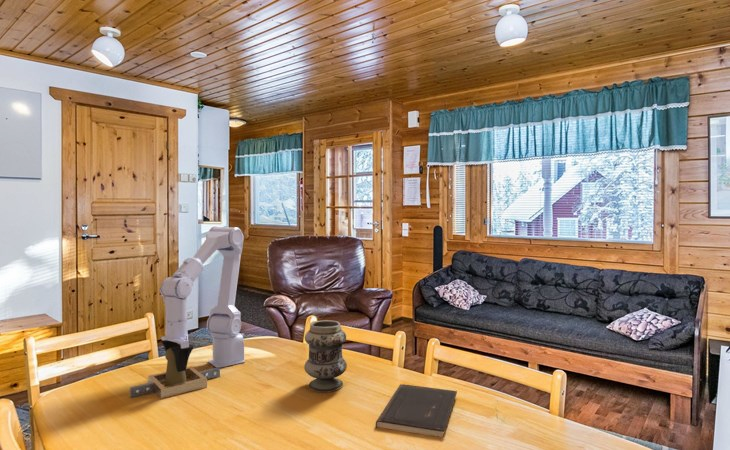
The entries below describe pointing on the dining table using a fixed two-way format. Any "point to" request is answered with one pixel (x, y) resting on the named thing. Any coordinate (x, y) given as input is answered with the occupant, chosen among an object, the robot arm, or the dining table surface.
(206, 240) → the robot arm
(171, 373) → the cork
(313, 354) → the apothecary jar
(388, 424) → the hardcover book
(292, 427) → the dining table surface
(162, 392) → the square frame
